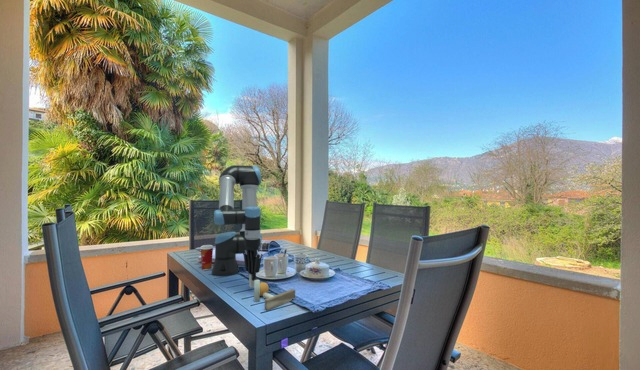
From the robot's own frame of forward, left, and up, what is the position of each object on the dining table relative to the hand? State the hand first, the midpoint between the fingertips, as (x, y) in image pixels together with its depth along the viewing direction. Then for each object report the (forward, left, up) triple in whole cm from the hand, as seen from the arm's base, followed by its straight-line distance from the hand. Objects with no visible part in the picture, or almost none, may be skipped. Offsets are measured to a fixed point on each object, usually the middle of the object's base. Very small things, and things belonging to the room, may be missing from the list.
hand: (252, 286), depth 138 cm
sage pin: (+12, -6, -2) cm, 14 cm away
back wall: (+22, -2, -2) cm, 23 cm away
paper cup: (-52, +5, -2) cm, 52 cm away
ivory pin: (+12, -2, -1) cm, 12 cm away
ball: (+9, -1, +1) cm, 9 cm away
